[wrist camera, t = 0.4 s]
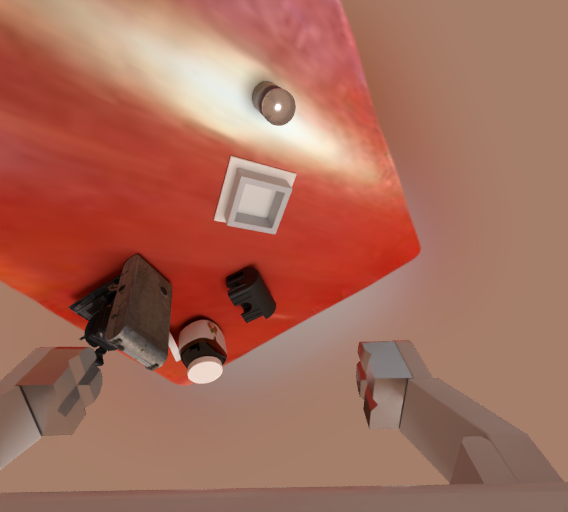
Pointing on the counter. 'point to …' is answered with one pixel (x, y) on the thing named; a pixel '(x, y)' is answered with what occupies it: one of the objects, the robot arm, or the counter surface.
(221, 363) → the spread jar
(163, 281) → the vintage camera
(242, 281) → the end cap
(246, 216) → the open square tray
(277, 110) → the brown cylinder
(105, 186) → the counter surface
